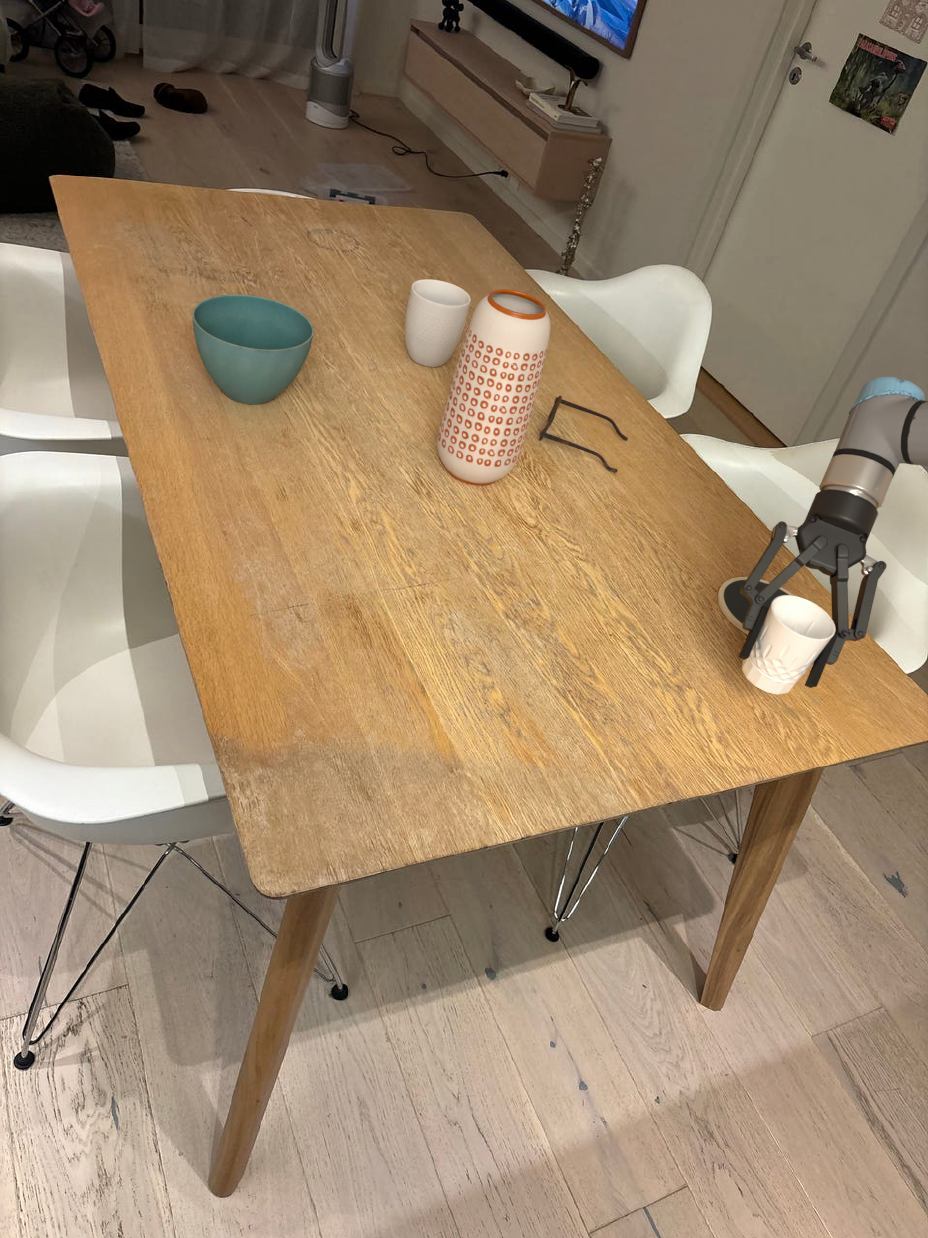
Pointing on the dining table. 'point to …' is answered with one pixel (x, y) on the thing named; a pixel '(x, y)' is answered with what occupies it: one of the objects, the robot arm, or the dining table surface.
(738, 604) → the face circle
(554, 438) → the eyeglasses
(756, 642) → the white cup
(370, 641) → the dining table surface
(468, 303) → the mug
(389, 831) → the dining table surface
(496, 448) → the patterned vase
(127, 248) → the dining table surface
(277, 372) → the teal bowl
